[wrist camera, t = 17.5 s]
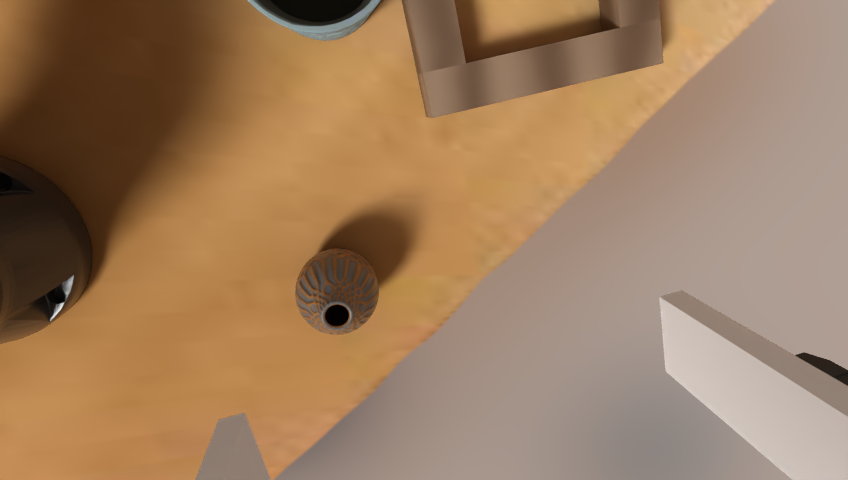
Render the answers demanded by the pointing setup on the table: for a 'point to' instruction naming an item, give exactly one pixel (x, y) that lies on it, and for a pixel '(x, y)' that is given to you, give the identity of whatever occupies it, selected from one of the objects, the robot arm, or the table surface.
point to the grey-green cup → (318, 15)
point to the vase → (337, 291)
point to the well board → (525, 55)
